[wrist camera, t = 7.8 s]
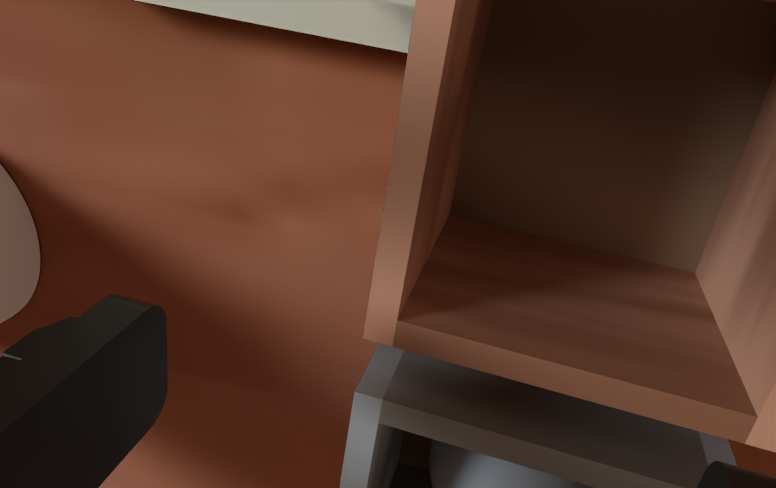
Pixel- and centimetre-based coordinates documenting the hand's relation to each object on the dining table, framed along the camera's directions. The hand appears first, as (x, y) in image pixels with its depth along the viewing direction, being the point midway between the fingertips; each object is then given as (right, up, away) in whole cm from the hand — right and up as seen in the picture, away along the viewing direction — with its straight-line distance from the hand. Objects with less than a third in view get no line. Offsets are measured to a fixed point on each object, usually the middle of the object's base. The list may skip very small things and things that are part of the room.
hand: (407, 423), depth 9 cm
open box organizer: (+5, +2, +9) cm, 10 cm away
